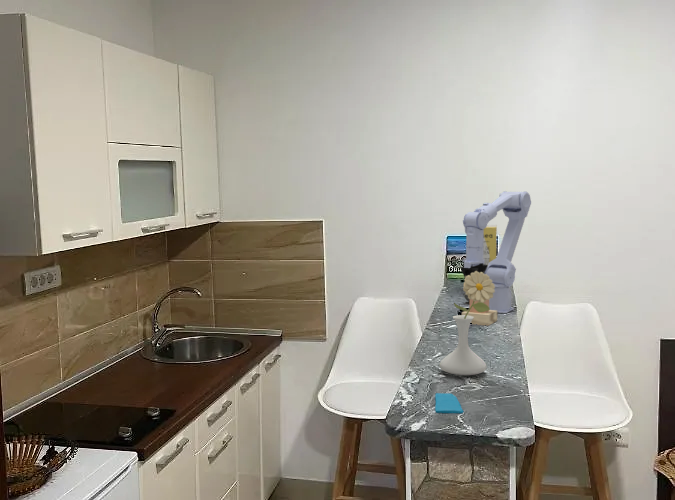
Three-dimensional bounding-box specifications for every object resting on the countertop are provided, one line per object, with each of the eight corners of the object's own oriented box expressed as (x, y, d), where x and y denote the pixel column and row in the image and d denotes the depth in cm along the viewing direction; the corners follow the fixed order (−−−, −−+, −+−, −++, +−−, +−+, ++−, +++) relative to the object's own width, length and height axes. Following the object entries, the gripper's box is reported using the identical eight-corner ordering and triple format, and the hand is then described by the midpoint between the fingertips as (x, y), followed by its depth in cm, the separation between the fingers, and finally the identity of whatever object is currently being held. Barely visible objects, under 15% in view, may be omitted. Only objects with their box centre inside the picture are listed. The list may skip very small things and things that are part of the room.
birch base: (471, 318, 240) (471, 308, 240) (497, 320, 236) (497, 310, 235) (461, 323, 233) (461, 312, 232) (488, 325, 228) (488, 315, 228)
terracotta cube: (474, 309, 237) (474, 294, 237) (489, 310, 235) (489, 296, 234) (469, 312, 233) (469, 297, 232) (484, 313, 230) (484, 298, 230)
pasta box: (470, 290, 301) (471, 224, 298) (495, 291, 298) (496, 224, 296) (468, 297, 283) (469, 227, 280) (495, 298, 281) (496, 227, 278)
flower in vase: (439, 378, 168) (440, 273, 165) (439, 366, 179) (439, 267, 177) (495, 380, 166) (497, 274, 164) (491, 367, 177) (493, 268, 175)
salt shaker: (462, 304, 267) (462, 273, 266) (464, 302, 273) (464, 271, 272) (478, 305, 265) (478, 273, 264) (479, 302, 271) (480, 271, 270)
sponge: (462, 394, 154) (435, 390, 155) (464, 412, 142) (435, 407, 143) (461, 400, 154) (434, 397, 155) (463, 419, 142) (434, 415, 143)
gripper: (471, 245, 249) (470, 283, 250) (455, 248, 236) (455, 288, 238) (490, 246, 245) (489, 285, 246) (475, 249, 233) (475, 290, 234)
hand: (474, 287), depth 242 cm, fingers open, 7 cm apart
